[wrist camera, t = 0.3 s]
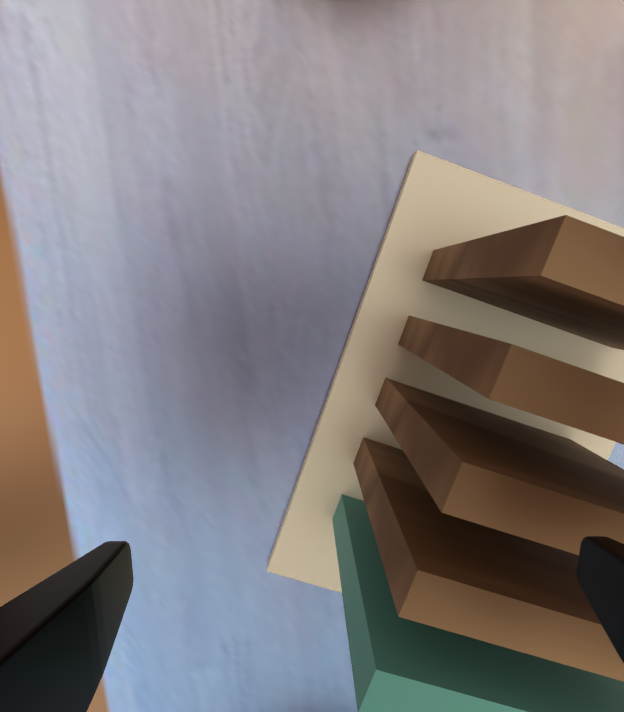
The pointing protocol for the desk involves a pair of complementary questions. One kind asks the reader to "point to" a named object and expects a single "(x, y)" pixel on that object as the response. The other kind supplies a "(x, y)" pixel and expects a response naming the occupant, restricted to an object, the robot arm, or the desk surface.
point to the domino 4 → (441, 650)
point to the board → (390, 360)
